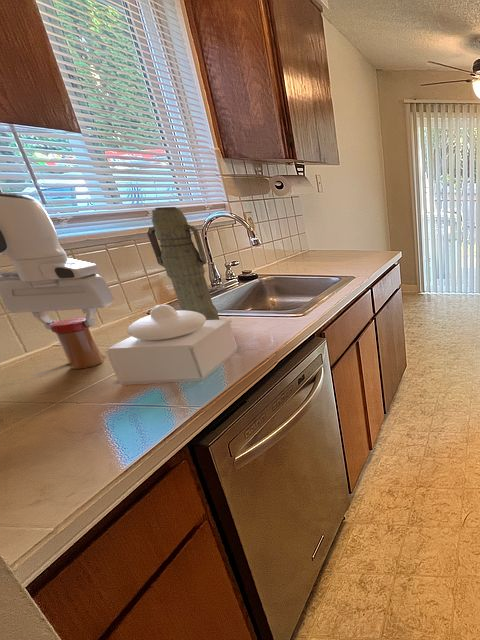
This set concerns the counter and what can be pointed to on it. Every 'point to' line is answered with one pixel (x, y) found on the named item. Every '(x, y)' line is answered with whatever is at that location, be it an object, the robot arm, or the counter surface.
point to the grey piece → (182, 260)
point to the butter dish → (172, 347)
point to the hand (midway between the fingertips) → (72, 327)
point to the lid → (68, 325)
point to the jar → (80, 348)
